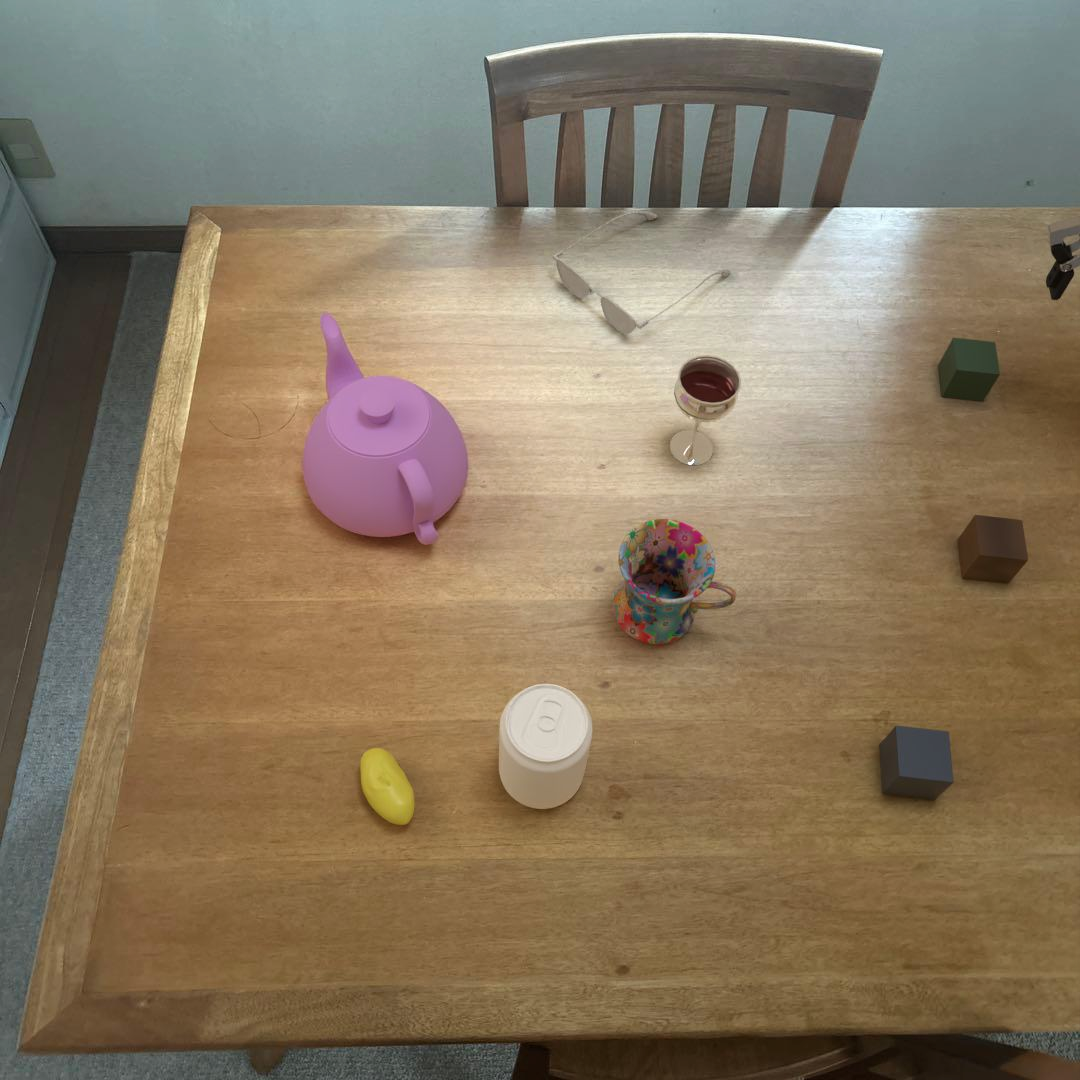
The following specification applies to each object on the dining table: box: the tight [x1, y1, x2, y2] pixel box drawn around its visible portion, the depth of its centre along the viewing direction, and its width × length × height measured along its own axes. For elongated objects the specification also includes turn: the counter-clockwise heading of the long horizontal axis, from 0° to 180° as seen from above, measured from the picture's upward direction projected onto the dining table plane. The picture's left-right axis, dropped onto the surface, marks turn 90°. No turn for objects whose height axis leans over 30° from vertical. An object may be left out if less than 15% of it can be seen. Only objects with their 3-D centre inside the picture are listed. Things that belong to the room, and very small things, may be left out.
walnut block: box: [957, 514, 1029, 584], centre depth 115 cm, size 5×5×5 cm
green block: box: [937, 337, 1001, 402], centre depth 128 cm, size 5×5×5 cm
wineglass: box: [669, 354, 742, 466], centre depth 118 cm, size 7×7×12 cm
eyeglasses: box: [552, 210, 731, 336], centre depth 136 cm, size 15×18×4 cm
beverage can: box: [498, 683, 594, 810], centre depth 98 cm, size 8×8×12 cm
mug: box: [612, 518, 737, 645], centre depth 108 cm, size 12×9×11 cm
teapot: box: [302, 312, 469, 545], centre depth 114 cm, size 25×18×14 cm
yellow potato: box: [359, 747, 415, 826], centre depth 99 cm, size 4×8×4 cm, turn 26°
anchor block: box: [879, 725, 954, 801], centre depth 102 cm, size 5×5×5 cm
